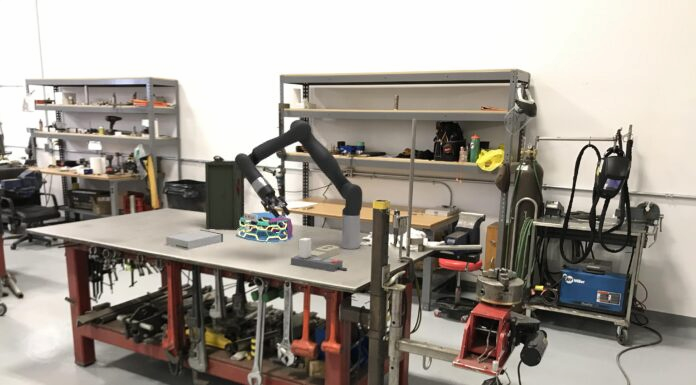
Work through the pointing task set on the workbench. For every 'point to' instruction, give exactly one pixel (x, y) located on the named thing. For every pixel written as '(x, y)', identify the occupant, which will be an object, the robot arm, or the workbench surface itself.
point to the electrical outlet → (326, 251)
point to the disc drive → (194, 239)
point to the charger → (304, 248)
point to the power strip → (318, 263)
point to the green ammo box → (224, 195)
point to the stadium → (265, 227)
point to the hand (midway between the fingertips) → (283, 215)
